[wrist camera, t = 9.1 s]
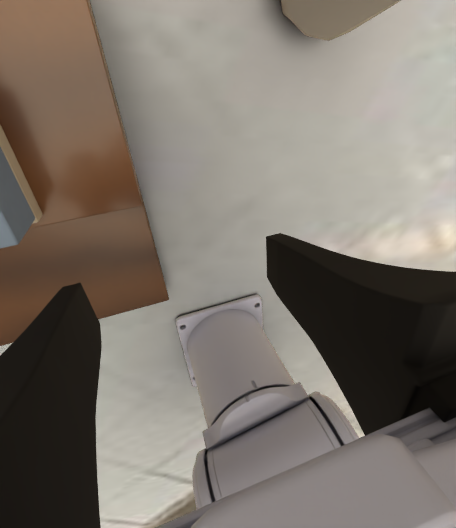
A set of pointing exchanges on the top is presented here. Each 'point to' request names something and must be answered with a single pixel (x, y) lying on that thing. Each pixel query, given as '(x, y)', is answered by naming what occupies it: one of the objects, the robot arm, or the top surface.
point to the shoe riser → (69, 170)
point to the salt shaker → (332, 15)
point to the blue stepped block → (14, 198)
